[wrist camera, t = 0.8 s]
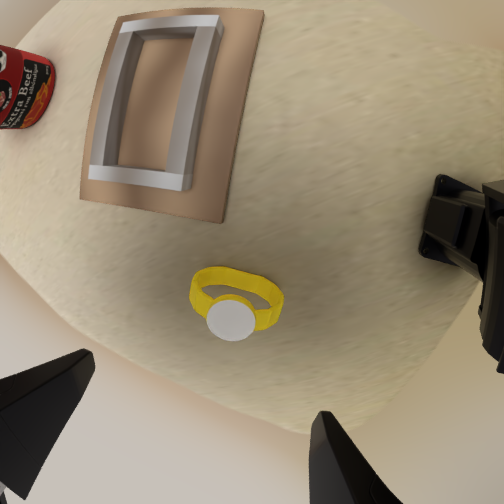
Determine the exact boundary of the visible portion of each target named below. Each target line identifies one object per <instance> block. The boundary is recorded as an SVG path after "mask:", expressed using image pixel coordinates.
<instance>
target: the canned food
mask: <svg viewBox="0 0 504 504" xmlns="http://www.w3.org/2000/svg"><path fill="white" fill-rule="evenodd" d="M54 81H55V72H54V68H53V65H52V64H51V63H50V61H48V60H47V59H46V58H45V57H42V56H39V55H36V54H32V53H29V52H26V51H22V50H18V49H14V48H11V47H6V46H2V45H0V129H23V128H25V127H28V126H31V125H32V124H34V123H35V122H36V121H37V120H38V119H39V118H40V116H41V115H42V114H43V112H44V110H45V109H46V107H47V105H48V103H49V101H50V98H51V95H52V92H53V87H54Z"/></svg>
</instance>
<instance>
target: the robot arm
mask: <svg viewBox="0 0 504 504" xmlns="http://www.w3.org/2000/svg"><path fill="white" fill-rule="evenodd" d="M442 178H443V180H444V182H443V184H442V182H441V180H442ZM482 191H483V193H484V194H483V193H481V192H479V191H478V190H476V189H474V188H472V187H470V186H468V185H466V184H464V183H462V182H459V181H457V180H455V179H453V178H451V177H449V176H447V175H443V174H440V175H438V176H437V179H436V184H435V188H434V193H433V197H432V198H431V202H430V207H429V211H428V215H427V219H426V222H425V226H424V233H423V236H422V240H421V243H420V246H419V254H420V255H421V256H423V257H425V258H429V259H433V260H437V261H440V262H444V263H448V264H451V265H455V266H459V267H461V268H463V269H464V270H466V271H467V272H469V273H470V274H472V275H473V276H474V277H476V278H477V279H479V280H480V281H482V282H483V290H482V298H481V305H480V306H479V310H478V314H479V316H480V319H481V323H480V332H481V336H482V339H483V344H482V345H483V347H484V348H485V350H486V351H487V352H488V354H490V355H491V356H492V357H493V358H494V359H496V360H497V361H498V362H499V363H498V366H497V369H496V370H497V372H498V373H503V374H504V180H500V181H494V182H488V183H483V184H482ZM425 248H426V251H425V252H423V251H424V249H425ZM94 371H95V362H94V358H93V353H92V352H91V351H89V350H87V349H80V350H77V351H75V352H72V353H70V354H67V355H65V356H62V357H59V358H57V359H54V360H52V361H49V362H46V363H44V364H41V365H39V366H36V367H33V368H30V369H28V370H25V371H22V372H20V373H17V374H14V375H11V376H8V377H5V378H3V379H0V504H7V501H6V498H5V494H4V489H5V488H6V487H8V488H9V489H10V490H12V491H13V492H14V493H15V494H17V495H18V496H19V497H21V498H22V499H23V500H25V499H26V498H27V496H28V494H29V492H30V490H31V487H32V486H33V484H34V482H35V480H36V478H37V476H38V474H39V472H40V470H41V467H42V466H43V464H44V462H45V460H46V458H47V457H48V455H49V453H50V451H51V449H52V447H53V446H54V444H55V442H56V440H57V439H58V437H59V435H60V433H61V432H62V430H63V428H64V427H65V425H66V423H67V421H68V420H69V418H70V416H71V415H72V413H73V411H74V410H75V408H76V407H77V405H78V403H79V402H80V400H81V398H82V396H83V394H84V392H85V390H86V388H87V386H88V384H89V381H90V379H91V377H92V375H93V373H94ZM309 489H310V504H403V503H402V502H401V501H400V500H399V499H398V498H397V497H396V496H395V495H394V494H393V493H392V492H391V491H390V490H389V489H388V488H387V486H386V485H385V484H384V483H383V482H382V480H381V479H380V478H379V476H378V475H377V474H376V472H375V471H374V470H373V468H372V467H371V466H370V464H369V463H368V462H367V460H366V459H365V458H364V456H363V455H362V454H361V452H360V451H359V450H358V448H357V447H356V445H355V444H354V443H353V441H352V440H351V439H350V437H349V436H348V435H347V433H346V432H345V430H344V429H343V428H342V426H341V425H340V423H339V422H338V421H337V419H336V418H335V417H334V415H333V414H332V413H331V412H330V411H320V412H319V413H318V415H317V416H316V418H315V420H314V421H313V423H312V427H311V439H310V451H309Z"/></svg>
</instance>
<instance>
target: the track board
mask: <svg viewBox="0 0 504 504" xmlns="http://www.w3.org/2000/svg"><path fill="white" fill-rule="evenodd" d="M263 19H264V10H254V9H240V8H183V9H169V10H159V11H151V12H144V13H137V14H131V15H126V16H121V17H118V18H117V21H116V23H115V26H114V29H113V31H112V34H111V37H110V40H109V43H108V46H107V49H106V52H105V55H104V58H103V61H102V65H101V68H100V72H99V75H98V79H97V83H96V87H95V91H94V96H93V100H92V105H91V110H90V115H89V120H88V126H87V132H86V138H85V145H84V153H83V162H82V171H81V184H80V199H82V200H88V201H94V202H100V203H106V204H113V205H119V206H124V207H130V208H136V209H142V210H148V211H153V212H159V213H165V214H170V215H176V216H181V217H187V218H192V219H198V220H203V221H208V222H213V223H219V224H221V223H222V222H223V219H224V213H225V207H226V201H227V195H228V189H229V184H230V178H231V172H232V167H233V161H234V156H235V150H236V145H237V140H238V135H239V129H240V124H241V119H242V114H243V109H244V104H245V99H246V95H247V90H248V85H249V80H250V76H251V71H252V67H253V62H254V58H255V53H256V49H257V45H258V40H259V36H260V32H261V28H262V23H263Z"/></svg>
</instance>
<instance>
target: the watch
mask: <svg viewBox="0 0 504 504" xmlns="http://www.w3.org/2000/svg"><path fill="white" fill-rule="evenodd" d="M220 284H224V285H227V286H231V287H234V288H238V289H242V290H245V291H249V292H253V293H256V294H258V295H259V296H261V297H262V298H263V299H265V300H266V301H268V302H269V304H270V305H271V307H270V308H268V309H259V310H255V308H254V307H253V305H252V304H251V303H250V302H249V301H248V300H247V299H245V298H244V297H241V296H239V295H234V294H226V295H221V296H219V297H217V298H216V299H213V298H212V297H210V296H209V295H207V294H206V293H204V292H203V291H202V289H201V288H203V287H205V286H207V285H220ZM189 300H190V302H191V304H192V306H193V308H194V310H195V311H196V312H197V313H198V314H200V315H201V316H202V317H204V318H205V319H206V322H207V325H208V327H209V329H210V330H211V332H212V333H213V334H214V335H216V336H217V337H219V338H221V339H223V340H226V341H239V340H242V339H245V338H247V337H248V336H249V335H250V334H251V333H252V332H253V331H259V330H265V329H267V328H269V327H270V326H272V325H273V324H275V323H277V321H278V318H279V316H280V313H281V310H282V307H283V303H284V295H283V293H282V292H281V291H280V289H279V288H278V287H277V286H276V285H275V284H274V283H272V282H271V281H269V280H268V279H266V278H264V277H262V276H261V275H260V276H258V275H254V274H250V273H247V272H243V271H239V270H236V269H232V268H228V267H225V266H218V267H208V268H205V269H202V270H200V271H197V272H196V273H195V275H194V277H193V279H192V282H191V288H190V293H189Z"/></svg>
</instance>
